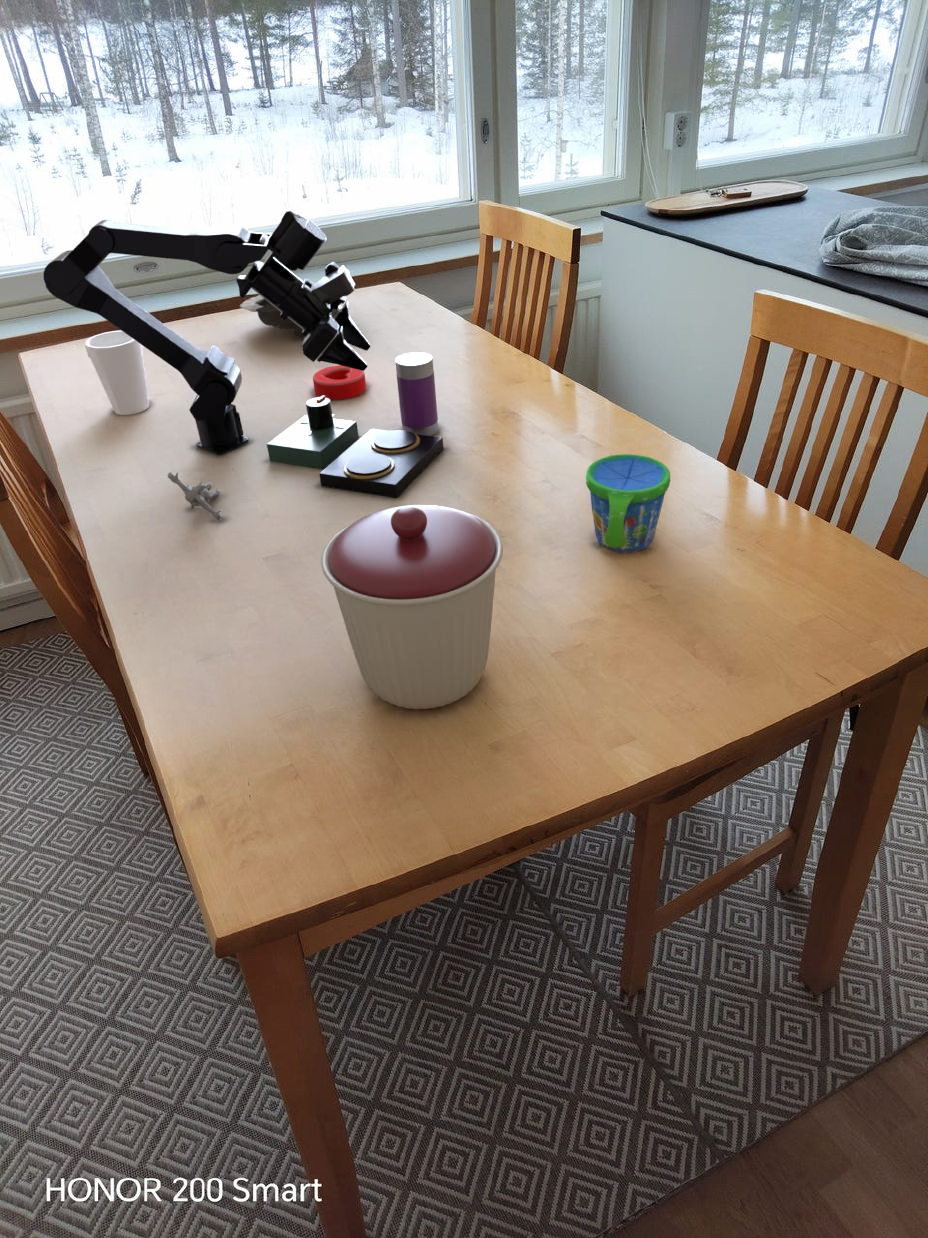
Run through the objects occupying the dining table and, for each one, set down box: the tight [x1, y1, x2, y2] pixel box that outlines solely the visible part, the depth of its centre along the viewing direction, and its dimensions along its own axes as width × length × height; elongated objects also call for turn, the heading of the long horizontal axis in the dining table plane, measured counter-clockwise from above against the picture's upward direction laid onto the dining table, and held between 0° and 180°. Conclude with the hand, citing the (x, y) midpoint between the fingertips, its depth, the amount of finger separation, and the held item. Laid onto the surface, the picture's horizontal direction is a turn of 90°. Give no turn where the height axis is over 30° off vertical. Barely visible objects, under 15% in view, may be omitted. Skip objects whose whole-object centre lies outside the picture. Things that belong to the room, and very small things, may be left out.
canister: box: [320, 504, 504, 710], centre depth 94 cm, size 18×18×21 cm
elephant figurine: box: [167, 472, 224, 522], centre depth 133 cm, size 10×6×9 cm
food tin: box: [395, 351, 439, 436], centre depth 150 cm, size 6×6×12 cm
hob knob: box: [305, 396, 334, 430], centre depth 149 cm, size 4×4×4 cm
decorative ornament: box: [312, 364, 367, 401], centre depth 169 cm, size 10×10×3 cm
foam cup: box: [83, 329, 150, 416], centre depth 165 cm, size 10×9×13 cm
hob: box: [318, 428, 445, 499], centre depth 142 cm, size 13×17×3 cm
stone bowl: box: [239, 282, 316, 340], centre depth 200 cm, size 25×25×9 cm
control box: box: [266, 413, 360, 470], centre depth 149 cm, size 10×13×3 cm
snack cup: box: [585, 453, 671, 554], centre depth 118 cm, size 16×10×10 cm
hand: (367, 357), depth 146 cm, fingers open, 9 cm apart
